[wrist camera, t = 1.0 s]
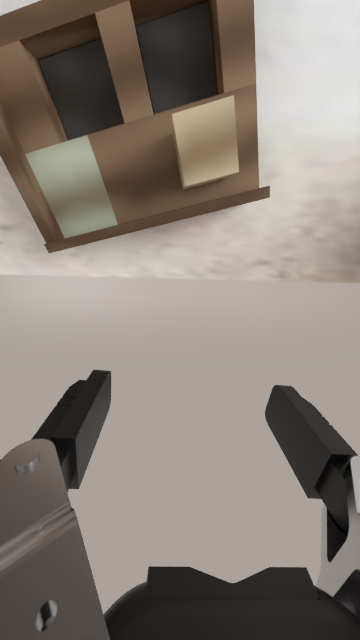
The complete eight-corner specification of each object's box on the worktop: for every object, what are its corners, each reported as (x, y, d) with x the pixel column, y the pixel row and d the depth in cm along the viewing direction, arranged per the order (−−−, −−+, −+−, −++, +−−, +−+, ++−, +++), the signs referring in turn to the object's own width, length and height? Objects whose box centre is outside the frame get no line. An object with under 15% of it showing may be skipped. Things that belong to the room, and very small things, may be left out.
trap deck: (-16, 55, 20) (-85, 2, 15) (239, -37, 18) (267, -140, 12) (72, 244, 29) (48, 253, 23) (250, 198, 26) (269, 197, 21)
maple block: (172, 133, 21) (171, 113, 16) (221, 118, 20) (233, 94, 16) (183, 189, 23) (184, 186, 19) (226, 178, 23) (239, 171, 18)
